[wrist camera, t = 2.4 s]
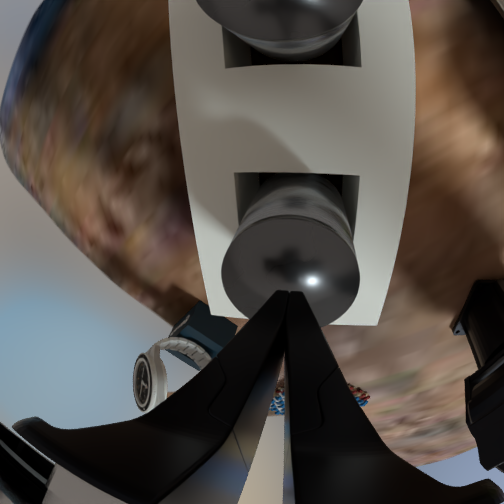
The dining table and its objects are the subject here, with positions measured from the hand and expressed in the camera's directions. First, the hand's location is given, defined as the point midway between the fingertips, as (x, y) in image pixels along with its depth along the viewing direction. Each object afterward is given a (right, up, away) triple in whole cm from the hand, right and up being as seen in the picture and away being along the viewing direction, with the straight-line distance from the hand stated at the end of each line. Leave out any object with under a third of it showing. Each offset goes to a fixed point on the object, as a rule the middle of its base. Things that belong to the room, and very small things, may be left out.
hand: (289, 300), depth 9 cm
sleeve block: (+2, +10, +6) cm, 12 cm away
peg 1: (+1, +12, 0) cm, 12 cm away
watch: (-6, -6, +18) cm, 20 cm away
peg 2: (+1, +4, +6) cm, 7 cm away
